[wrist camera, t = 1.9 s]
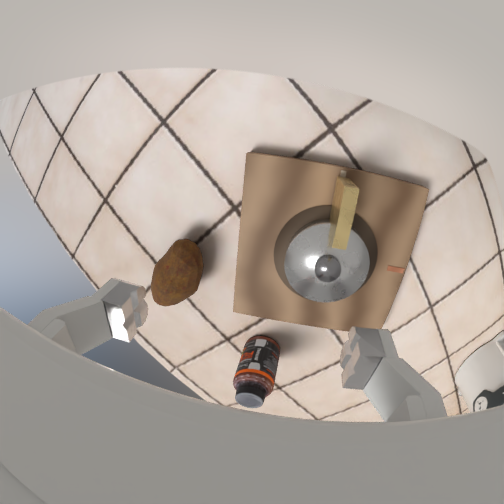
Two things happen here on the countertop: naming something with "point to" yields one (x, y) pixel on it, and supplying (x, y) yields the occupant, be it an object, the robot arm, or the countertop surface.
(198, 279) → the potato
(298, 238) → the grey round gold-handled piece
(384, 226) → the panel
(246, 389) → the supplement bottle
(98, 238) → the countertop surface
